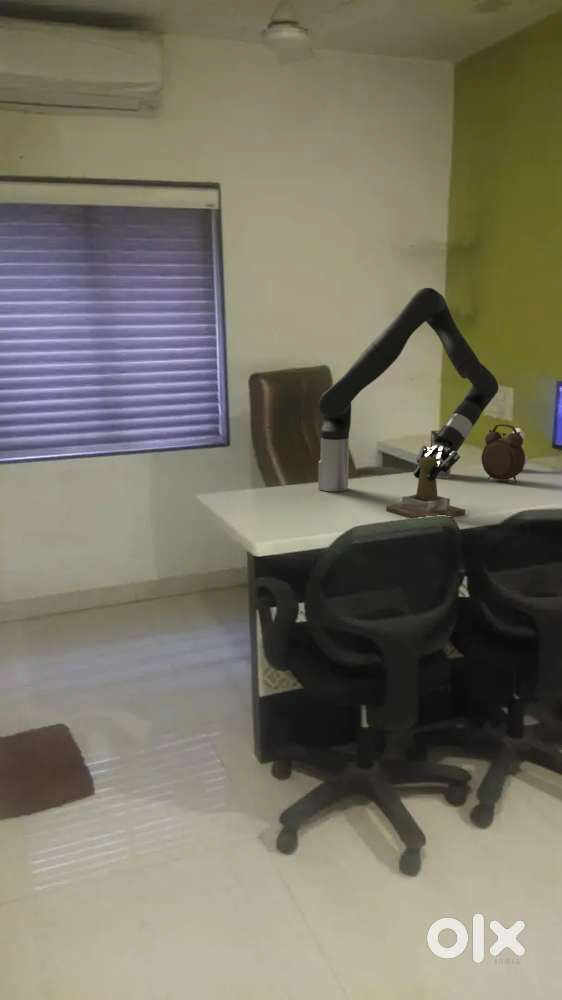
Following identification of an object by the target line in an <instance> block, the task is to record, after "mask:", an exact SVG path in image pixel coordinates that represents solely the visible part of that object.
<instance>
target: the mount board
mask: <svg viewBox="0 0 562 1000" xmlns="http://www.w3.org/2000/svg"><path fill="white" fill-rule="evenodd" d="M450 500H451V499H450V498H448V497H444V496H440V495H437V496H434V497H423V496H418V495H416V494H411V495H405V496H402V498H401V503H396V504H391V505H386V508H385V509H386V511H385V512H388V513H391V514H395V515H397V516H402V517H405V518H408V519H411V518H418V517H426V516H437V515H446V516H451V518H456V517H461V516H464V515H465V516H466V509H465V508H460V507H456V506H453V505H450V503H451V501H450Z"/></svg>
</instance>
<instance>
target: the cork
mask: <svg viewBox="0 0 562 1000" xmlns="http://www.w3.org/2000/svg"><path fill="white" fill-rule="evenodd" d="M435 464H436V459H435V458H434V457H430V456H429V457H422V458H420V460H419V464H418V465H419V467H420V468H421V469H420V475H419V478H418V482H417V488H416V489H417V490H416V494H415V495H418V496H423V497H434V496H438V487H437V478H435V479H434V480H433V481H429V480H428V478H427V476H428V474H429V473H430V472H431V470H432V469H433V467H435Z"/></svg>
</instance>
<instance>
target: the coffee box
mask: <svg viewBox="0 0 562 1000" xmlns="http://www.w3.org/2000/svg"><path fill="white" fill-rule="evenodd" d="M439 431H440V430H431V431H430V446H431V445H433V444H434V443H435V437H436V436H437V434H438V433H439ZM448 464H449V462H448V463H447V464H446V466H447V465H448ZM451 468H452V467H451ZM451 468H450V469H449V470H448V471H445V470H444V471H442V472H440V473H439V474H438V476H437V477H436V479H451ZM443 477H444V478H443ZM446 477H448V478H446Z"/></svg>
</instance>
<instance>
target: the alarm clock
mask: <svg viewBox="0 0 562 1000" xmlns="http://www.w3.org/2000/svg"><path fill="white" fill-rule="evenodd" d="M499 427H507V428H510V429H512V430H513V431H514V433H512V432H513V431H512V432H510V433H509V434H508V435H507V433H506V432H505V433H504V432H502V433H500V432H499V431H496V430H497V429H498V428H499ZM515 428H516V427H514V426H513V425H510V424H502V423H501V424H496V425H495V426H494V427H493V429H489V430H488V433H487V434H486V435H485V437H484V443H485V444H486V445H485V446H484V448H483V450H482V453H481V464H482V468H483V470H484V471H485V473H486V474H487V475H488V478H487V480H490V479H491V478H492V479H493V480H497V481H501V480H502V481H503V480H506V481H507V483H508V484H509V483H510V481H509V479H513V480H514V482H515V483H518V481H517V479H516V478H517V477H516V476H518V475H519V474H521V473H522V471H523V469H524V467H525V465H526V464H525V455H526V454H525V451H524V449H523V443H524V439H523V438H522V436H521V435H519V434H520V432H518V433H517V431H516V429H515Z"/></svg>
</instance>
